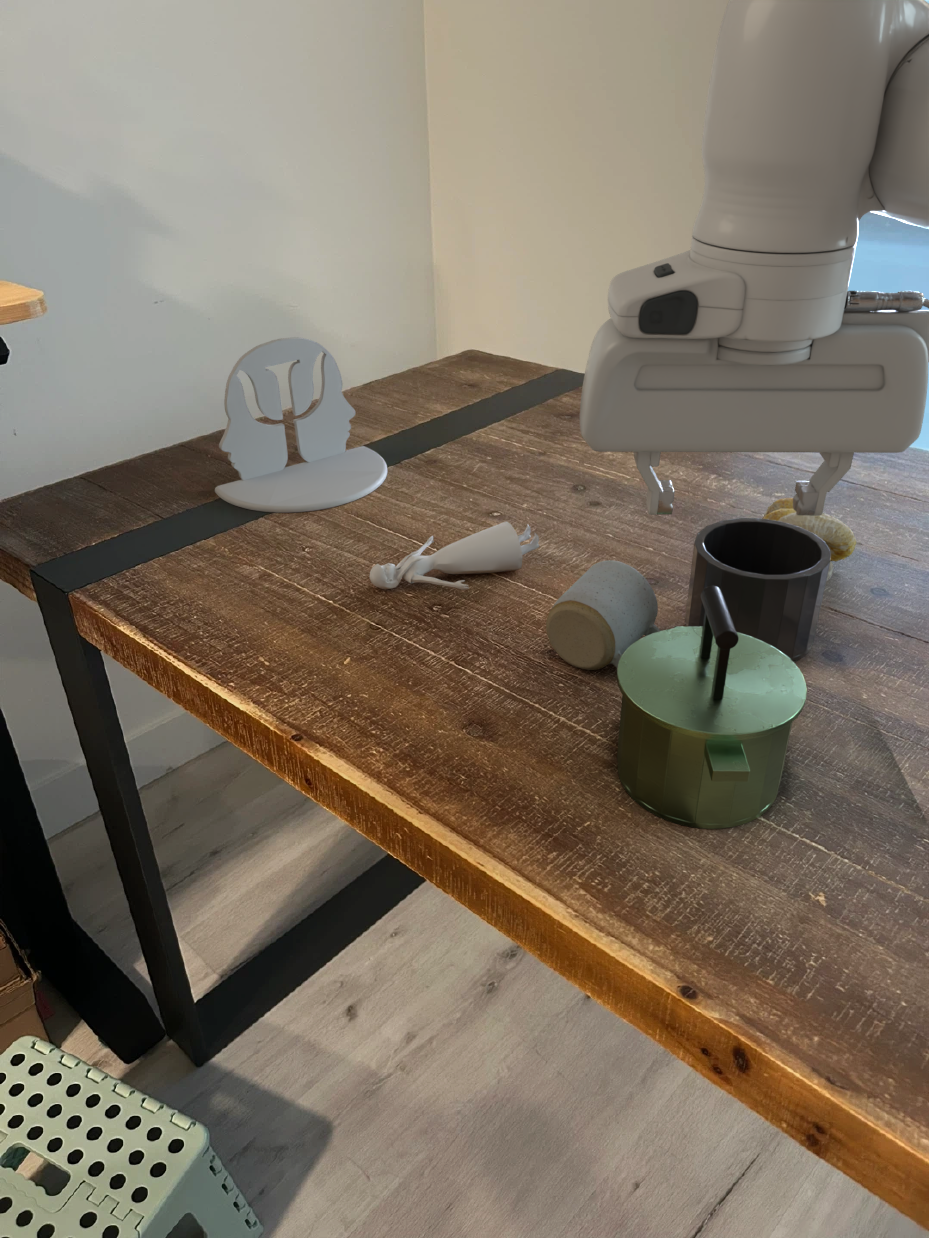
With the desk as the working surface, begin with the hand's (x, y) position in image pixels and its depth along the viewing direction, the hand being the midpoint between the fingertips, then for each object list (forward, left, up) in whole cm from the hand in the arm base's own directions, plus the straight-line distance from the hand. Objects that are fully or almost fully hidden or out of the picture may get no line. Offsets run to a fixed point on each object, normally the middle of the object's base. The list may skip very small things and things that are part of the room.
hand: (732, 511), depth 63 cm
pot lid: (0, 0, -14) cm, 14 cm away
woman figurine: (+20, -31, -22) cm, 43 cm away
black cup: (-8, -20, -22) cm, 31 cm away
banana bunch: (-17, -35, -22) cm, 44 cm away
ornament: (+38, -53, -22) cm, 69 cm away
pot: (0, 0, -22) cm, 22 cm away
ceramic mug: (+5, -16, -22) cm, 28 cm away
